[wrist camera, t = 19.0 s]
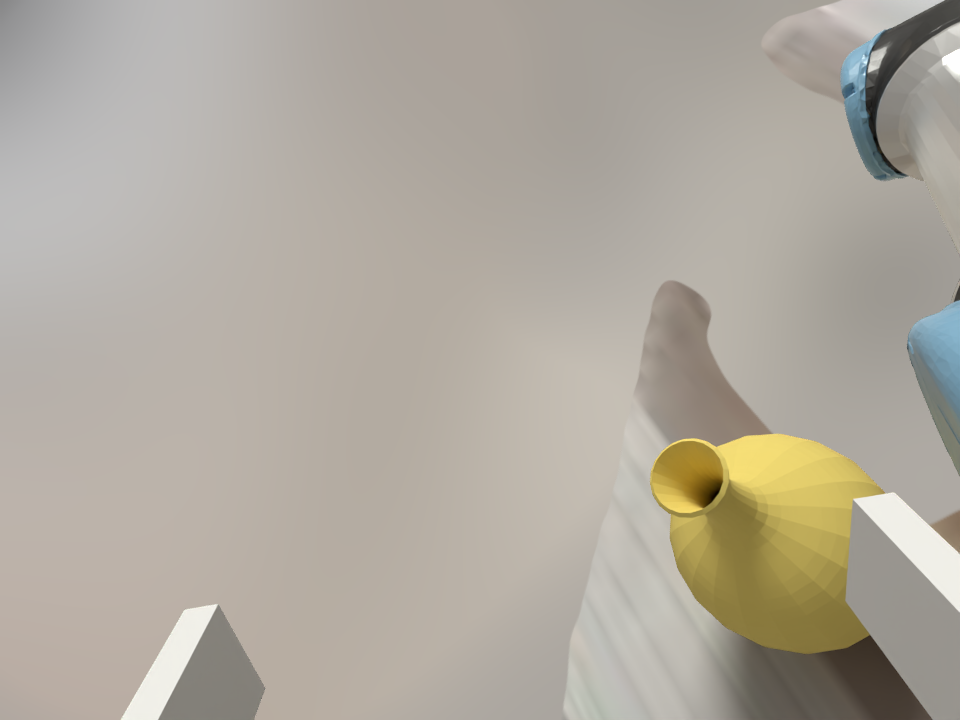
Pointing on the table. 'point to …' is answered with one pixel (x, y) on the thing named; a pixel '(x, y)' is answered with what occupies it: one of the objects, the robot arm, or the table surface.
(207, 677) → the robot arm
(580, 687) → the table surface
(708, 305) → the table surface
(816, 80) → the table surface
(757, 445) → the vase
